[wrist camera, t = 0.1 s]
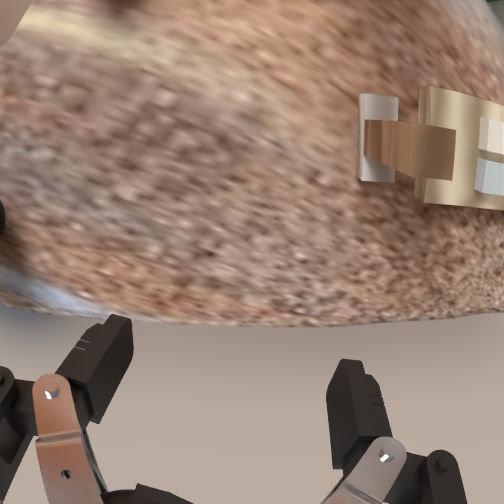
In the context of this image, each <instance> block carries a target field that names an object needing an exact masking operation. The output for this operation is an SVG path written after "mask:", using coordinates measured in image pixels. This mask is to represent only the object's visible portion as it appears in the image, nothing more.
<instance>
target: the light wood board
mask: <svg viewBox="0 0 504 504" xmlns="http://www.w3.org/2000/svg"><path fill="white" fill-rule="evenodd" d="M480 117H483V118H490V119H494V120H497V121H500V122H504V106H503V105H500V104H497V103H494V102H490V101H487V100H484V99H481V98H477V97H474V96H470V95H466V94H463V93H459V92H455V91H451V90H447V89H443V88H438V87H434V86H426V87H420V88H419V111H418V123H420V124H426V125H432V126H438V127H443V128H448V129H453V130H456V144H455V157H454V168H453V178H452V181H449V180H441V179H432V178H422V177H415V180H414V190H413V196H415V197H416V198H418V199H419V200H421V201H422V202H424V203H435V204H446V205H458V206H468V207H478V208H487V209H496V210H504V196H502V195H495V194H488V193H482V192H480V191H478V190H476V189H474V186H475V178H476V170H477V160H478V158H482V159H487V160H492V161H496V162H500V163H503V164H504V155H503V154H499V153H495V152H490V151H486V150H482V149H478V147H479V131H480Z"/></svg>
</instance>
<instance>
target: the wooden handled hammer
mask: <svg viewBox="0 0 504 504" xmlns="http://www.w3.org/2000/svg"><path fill="white" fill-rule="evenodd" d="M455 144H456V130H453V129H448V128H443V127H438V126H432V125H426V124H420V123H413V122H403V121H398V97H391V96H384V95H376V94H368V93H364V94H360V95H358V138H357V163H356V177H358V178H359V179H360V180H362V181H373V182H387V183H394V180H395V170H397V171H399V172H401V173H403V174H405V175H407V176H413V177H422V178H432V179H441V180H449V181H452V178H453V168H454V157H455Z"/></svg>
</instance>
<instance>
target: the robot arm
mask: <svg viewBox="0 0 504 504" xmlns="http://www.w3.org/2000/svg"><path fill="white" fill-rule="evenodd" d="M133 350H134V347H133V334H132V322H131V319H130V318H126V317H122V316H118V315H115V314H111V315H110V316H109V318H108V319H107V320H106V322H105V323H104V324H103V325H102V324H99V323H97V324H95V325H94V326H92V327H91V328H89V329H87V330H86V332H85V333H84V334H83V336H82V337H81V338H80V340H79V341H78V342H77V344H76V345H75V347H74V348H73V349H72V350H71V352H70V353H69V355H68V356H67V357H66V359H65V360H64V361H63V363H62V364H61V365H60V367H59V368H58V370H57V371H56V372H55V374H47V375H44V376H41V377H40V378H39V379H37V380H36V381H35V382H34V381H25V380H19V379H15V378H14V376H13V373H12V372H11V371H10V370H9V369H8V368H6V367H3V366H0V504H3V501H4V499H5V496H6V494H7V492H8V489H9V487H10V485H11V482H12V480H13V478H14V476H15V473H16V471H17V469H18V467H19V465H20V463H21V460H22V458H23V456H24V454H25V452H26V450H27V448H28V446H29V444H30V442H31V440H32V438H33V436H38V437H39V439H37V440H36V442H35V445H36V451H37V456H38V461H39V466H40V471H41V474H42V479H43V483H44V487H45V491H46V494H47V498H48V501H49V504H193V503H191V502H189V501H187V500H184V499H182V498H180V497H178V496H176V495H174V494H172V493H170V492H166V491H162V490H159V489H155V488H152V487H148V486H144V485H141V484H137V485H136V489H135V490H116V491H111V492H109V491H108V489H107V486H106V484H105V482H104V479H103V477H102V475H101V473H100V470H99V468H98V465H97V462H96V459H95V456H94V453H93V450H92V447H91V444H90V440H89V437H88V434H87V430H86V427H87V425H88V423H89V421H91V422H94V423H97V424H99V423H100V421H101V419H102V417H103V415H104V413H105V411H106V409H107V407H108V405H109V403H110V401H111V399H112V398H113V396H114V393H115V392H116V390H117V387H118V386H119V384H120V382H121V380H122V378H123V376H124V374H125V372H126V370H127V369H128V367H129V365H130V363H131V360H132V357H133ZM381 396H382V394H381V391H380V387H379V384H378V383H377V382H376V380H375V379H374V378H373V376H372V375H368V374H365V371H364V368H363V364H362V362H361V361H359V360H349V359H341V360H340V362H339V364H338V366H337V368H336V371H335V373H334V375H333V377H332V379H331V381H330V383H329V385H328V389H327V394H326V403H327V412H328V422H329V431H330V442H331V452H332V465H333V469H343V477H342V478H341V479H340V480H339V482H338V483H337V484H336V485H335V487H334V488H333V489H332V490H331V492H330V493H329V494H328V495H327V496H326V498H325V499H324V500H323V501H322V502H321V503H320V504H382V502H386V503H389V504H467V500H466V496H465V491H464V487H463V483H462V479H461V475H460V471H459V467H458V463H457V461H456V459H455V457H454V456H453V455H452V454H450V453H449V452H447V451H445V450H436V451H433V452H432V453H431V454H430V455H429V456H428V457H425V456H420V455H416V454H412V453H409V452H406V450H405V447H404V446H403V445H402V443H401V442H399V441H398V440H396V439H394V438H393V436H392V432H391V428H390V424H389V420H388V417H387V413H386V409H385V406H384V402H383V398H382V397H381Z"/></svg>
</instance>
